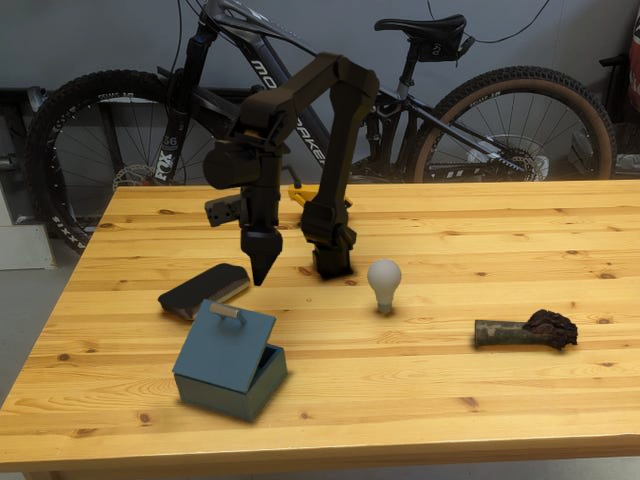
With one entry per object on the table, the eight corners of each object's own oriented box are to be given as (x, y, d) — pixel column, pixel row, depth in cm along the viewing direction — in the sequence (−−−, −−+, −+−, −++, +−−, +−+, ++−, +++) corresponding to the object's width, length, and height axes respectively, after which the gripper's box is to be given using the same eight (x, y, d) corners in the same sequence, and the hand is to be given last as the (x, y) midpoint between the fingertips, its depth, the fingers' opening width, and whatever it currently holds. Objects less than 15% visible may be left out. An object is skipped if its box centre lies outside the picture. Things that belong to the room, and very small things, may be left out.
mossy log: (474, 351, 115) (476, 325, 111) (473, 327, 120) (475, 302, 116) (576, 355, 114) (582, 329, 110) (571, 331, 119) (576, 306, 116)
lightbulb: (405, 305, 124) (406, 255, 117) (394, 324, 120) (394, 274, 113) (375, 299, 126) (374, 249, 119) (363, 317, 121) (361, 267, 114)
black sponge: (187, 329, 118) (183, 312, 116) (157, 311, 122) (153, 295, 119) (256, 287, 128) (253, 271, 126) (226, 272, 132) (223, 256, 130)
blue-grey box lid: (206, 300, 104) (192, 288, 100) (277, 318, 101) (266, 306, 97) (173, 373, 101) (158, 363, 96) (246, 393, 97) (233, 384, 93)
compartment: (221, 356, 113) (215, 329, 109) (288, 374, 109) (284, 347, 106) (181, 401, 104) (173, 374, 100) (251, 422, 101) (245, 395, 97)
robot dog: (275, 212, 150) (268, 157, 142) (353, 218, 149) (351, 162, 141) (268, 225, 146) (260, 168, 138) (348, 231, 145) (345, 174, 136)
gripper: (209, 165, 110) (206, 254, 117) (207, 191, 94) (204, 293, 100) (277, 172, 114) (271, 259, 120) (286, 199, 97) (278, 297, 104)
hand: (255, 276), depth 111 cm, fingers open, 9 cm apart
